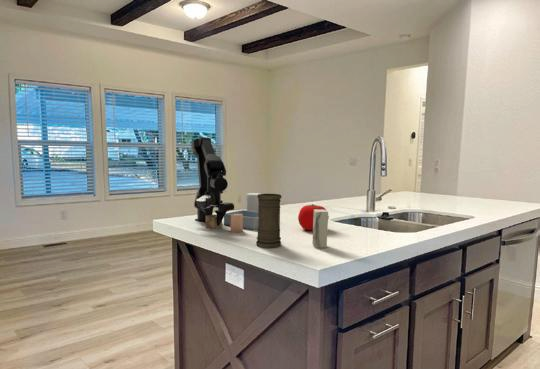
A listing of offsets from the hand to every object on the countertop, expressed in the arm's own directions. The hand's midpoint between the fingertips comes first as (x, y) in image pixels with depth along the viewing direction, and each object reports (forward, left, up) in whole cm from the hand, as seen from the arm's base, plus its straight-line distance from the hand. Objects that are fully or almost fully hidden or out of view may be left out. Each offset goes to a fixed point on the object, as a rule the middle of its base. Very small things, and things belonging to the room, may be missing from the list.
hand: (213, 224), depth 163 cm
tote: (+8, +14, -1) cm, 16 cm away
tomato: (+35, +24, -1) cm, 42 cm away
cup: (0, +28, -1) cm, 28 cm away
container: (+36, -9, -1) cm, 37 cm away
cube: (0, 0, -1) cm, 1 cm away
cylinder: (+13, 0, -1) cm, 13 cm away
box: (+51, +1, -1) cm, 51 cm away
